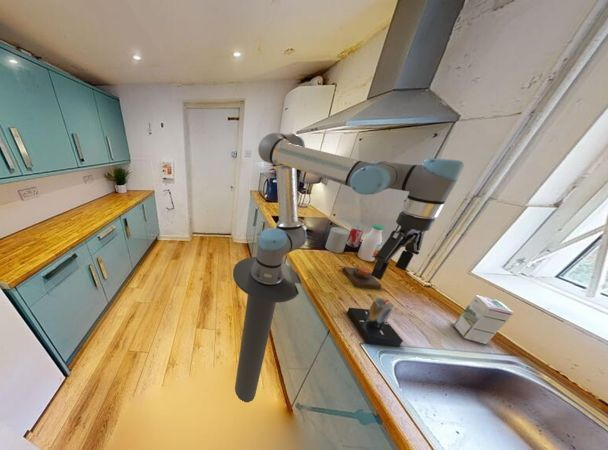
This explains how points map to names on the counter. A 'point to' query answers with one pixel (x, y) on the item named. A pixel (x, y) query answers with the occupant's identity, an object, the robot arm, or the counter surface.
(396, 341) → the control panel
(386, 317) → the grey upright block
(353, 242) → the soda can
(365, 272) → the dispense button
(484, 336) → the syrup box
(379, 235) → the milk bottle
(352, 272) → the dark square plate
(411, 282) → the counter surface
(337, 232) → the grey cylinder
